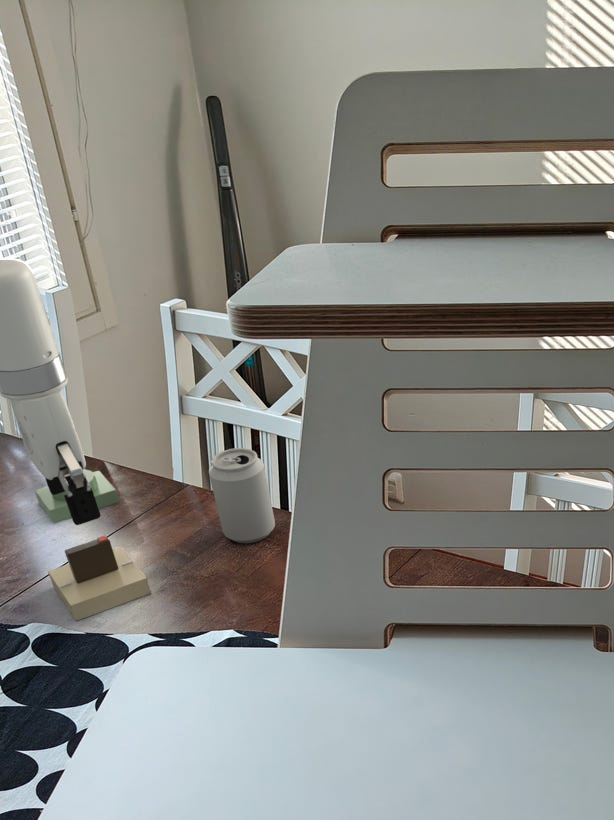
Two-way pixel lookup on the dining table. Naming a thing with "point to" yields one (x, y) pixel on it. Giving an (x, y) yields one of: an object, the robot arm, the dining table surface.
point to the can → (242, 495)
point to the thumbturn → (91, 559)
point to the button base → (57, 503)
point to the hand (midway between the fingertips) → (75, 505)
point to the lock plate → (100, 587)
